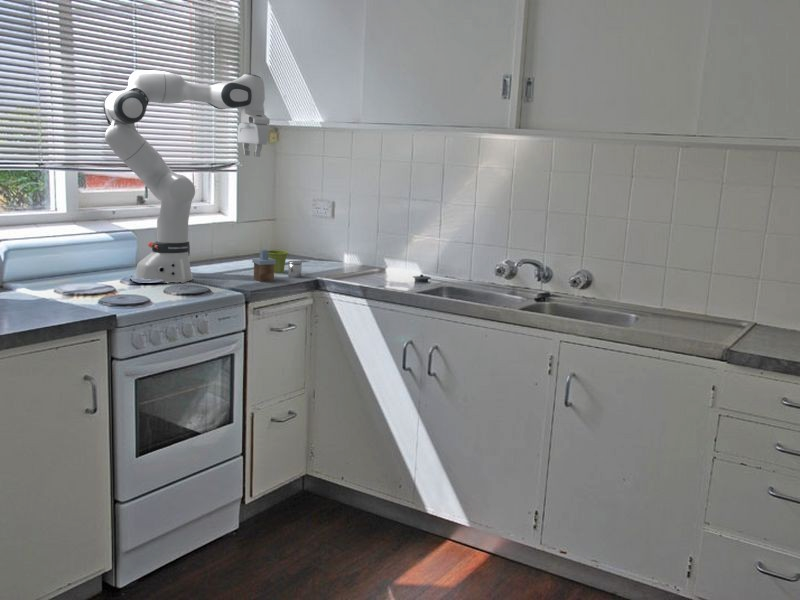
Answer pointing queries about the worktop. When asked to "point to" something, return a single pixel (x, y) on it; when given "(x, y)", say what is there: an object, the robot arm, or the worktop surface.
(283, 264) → the plant pot
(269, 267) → the canister
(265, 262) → the lid
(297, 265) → the tin
